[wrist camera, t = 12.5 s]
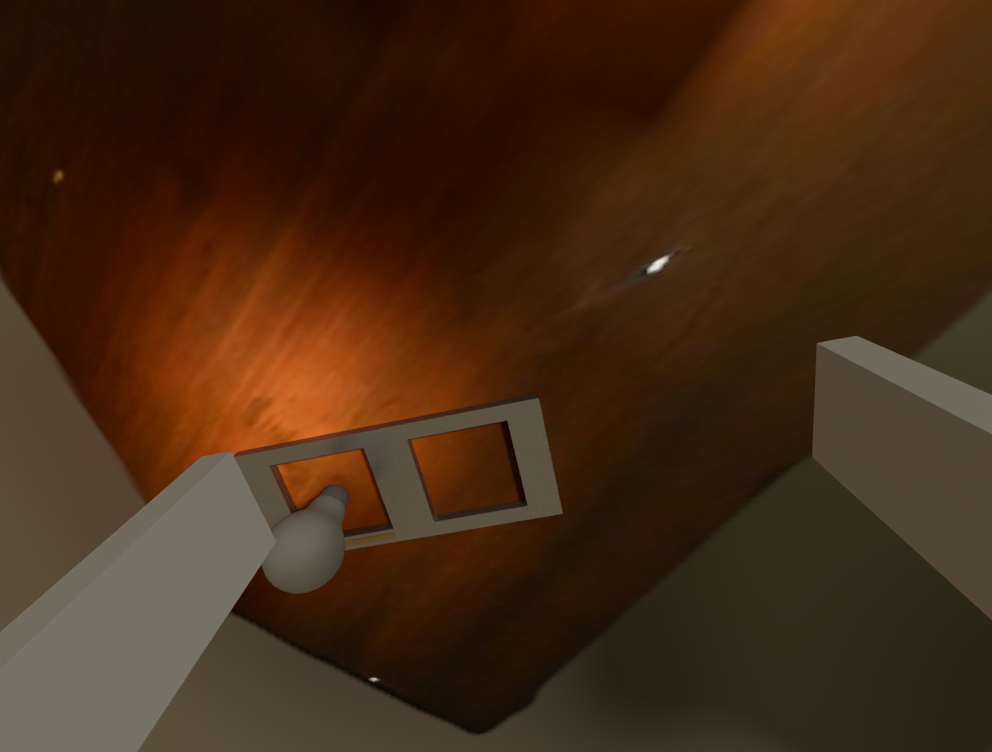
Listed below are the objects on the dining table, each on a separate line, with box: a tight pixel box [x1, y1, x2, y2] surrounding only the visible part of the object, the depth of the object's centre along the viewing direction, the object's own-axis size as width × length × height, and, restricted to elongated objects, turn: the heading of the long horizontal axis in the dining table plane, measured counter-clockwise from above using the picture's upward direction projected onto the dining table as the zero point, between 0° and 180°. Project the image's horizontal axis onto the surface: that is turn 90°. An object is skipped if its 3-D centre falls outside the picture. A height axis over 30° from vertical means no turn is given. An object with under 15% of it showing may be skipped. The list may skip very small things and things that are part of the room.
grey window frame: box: [234, 393, 563, 550], centre depth 43 cm, size 12×28×1 cm, turn 103°
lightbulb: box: [262, 485, 349, 594], centre depth 39 cm, size 6×6×11 cm
